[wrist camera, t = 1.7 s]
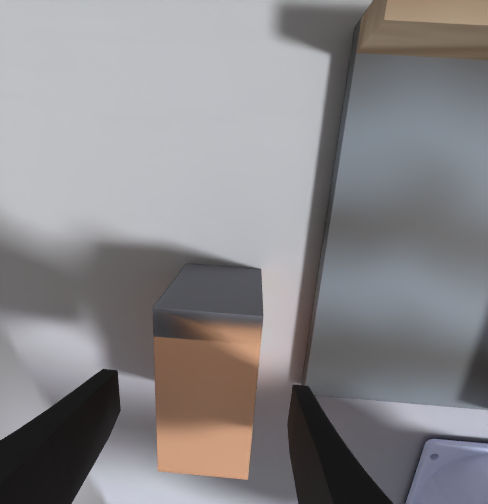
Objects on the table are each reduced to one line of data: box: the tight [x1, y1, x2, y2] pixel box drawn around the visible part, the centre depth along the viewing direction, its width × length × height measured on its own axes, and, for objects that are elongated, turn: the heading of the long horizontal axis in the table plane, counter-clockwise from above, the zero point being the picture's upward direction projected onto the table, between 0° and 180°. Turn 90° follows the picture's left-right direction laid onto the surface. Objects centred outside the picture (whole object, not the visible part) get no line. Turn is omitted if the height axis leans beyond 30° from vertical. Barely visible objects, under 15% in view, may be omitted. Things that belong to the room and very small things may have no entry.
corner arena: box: [302, 0, 488, 410], centre depth 12 cm, size 18×12×3 cm, turn 176°
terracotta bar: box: [153, 264, 263, 480], centre depth 13 cm, size 8×4×5 cm, turn 176°
